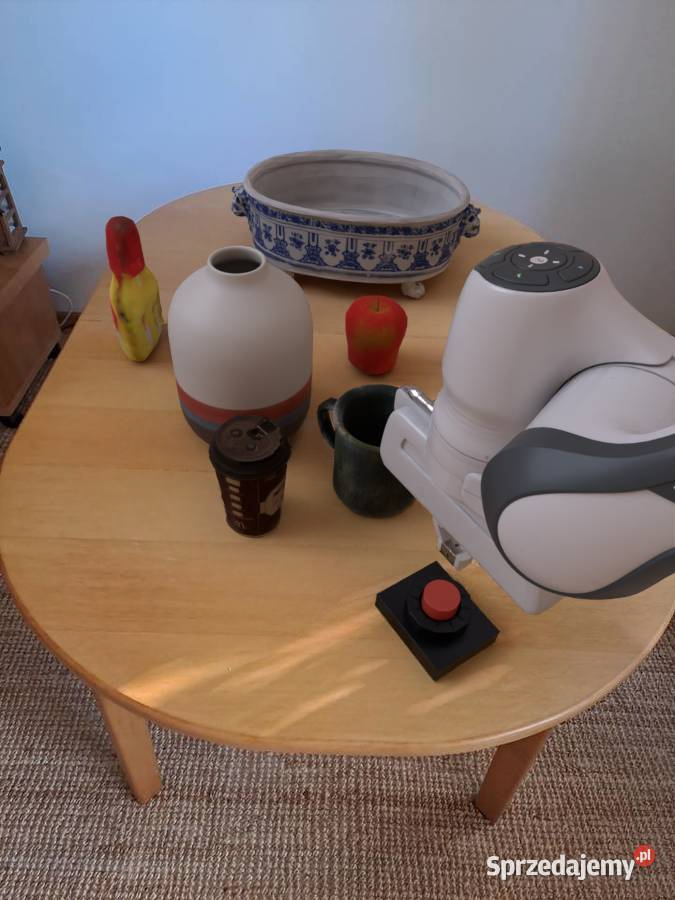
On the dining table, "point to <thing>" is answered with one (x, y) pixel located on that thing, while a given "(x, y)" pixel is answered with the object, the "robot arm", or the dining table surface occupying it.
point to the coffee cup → (251, 472)
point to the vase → (241, 343)
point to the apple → (374, 333)
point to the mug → (362, 450)
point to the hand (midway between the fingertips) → (453, 557)
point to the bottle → (132, 290)
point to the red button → (440, 600)
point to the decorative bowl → (356, 216)
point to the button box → (435, 623)
